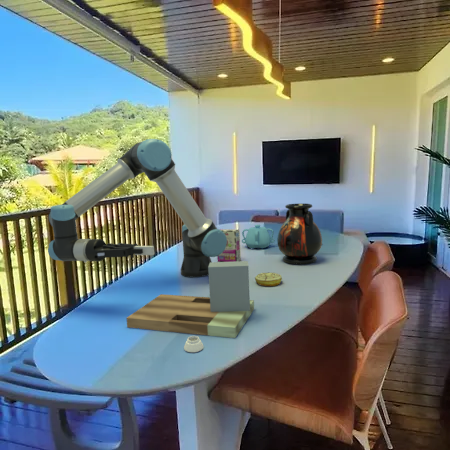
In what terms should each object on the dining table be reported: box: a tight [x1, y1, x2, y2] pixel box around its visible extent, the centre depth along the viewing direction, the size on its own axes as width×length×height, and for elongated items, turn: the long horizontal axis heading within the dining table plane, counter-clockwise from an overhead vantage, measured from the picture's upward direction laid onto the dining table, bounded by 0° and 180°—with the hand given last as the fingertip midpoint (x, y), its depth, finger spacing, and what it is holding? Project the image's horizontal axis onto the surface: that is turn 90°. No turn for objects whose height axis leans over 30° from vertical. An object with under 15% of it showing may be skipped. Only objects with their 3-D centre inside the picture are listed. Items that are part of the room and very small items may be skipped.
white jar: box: [183, 335, 205, 353], centre depth 96 cm, size 5×3×5 cm
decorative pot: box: [241, 224, 275, 249], centre depth 219 cm, size 16×16×14 cm
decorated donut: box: [254, 272, 283, 287], centre depth 149 cm, size 10×11×4 cm
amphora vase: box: [277, 203, 323, 266], centre depth 180 cm, size 22×22×28 cm
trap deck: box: [126, 293, 255, 339], centre depth 116 cm, size 22×34×3 cm, turn 72°
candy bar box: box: [216, 228, 242, 262], centre depth 187 cm, size 11×5×16 cm, turn 62°
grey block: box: [208, 260, 251, 312], centre depth 114 cm, size 6×12×14 cm, turn 88°
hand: (153, 250), depth 119 cm, fingers closed
